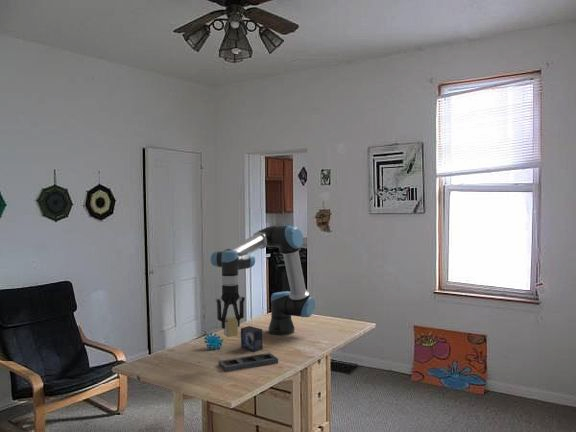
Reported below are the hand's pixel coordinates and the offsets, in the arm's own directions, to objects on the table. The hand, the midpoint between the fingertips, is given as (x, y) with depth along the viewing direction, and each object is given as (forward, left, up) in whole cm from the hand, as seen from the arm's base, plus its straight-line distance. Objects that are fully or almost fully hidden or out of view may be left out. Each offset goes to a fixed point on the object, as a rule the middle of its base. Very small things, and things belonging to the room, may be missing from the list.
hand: (230, 334), depth 226 cm
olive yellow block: (0, 0, 0) cm, 0 cm away
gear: (-1, -32, -15) cm, 35 cm away
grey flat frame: (-8, 0, -15) cm, 17 cm away
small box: (-18, -22, -15) cm, 32 cm away
